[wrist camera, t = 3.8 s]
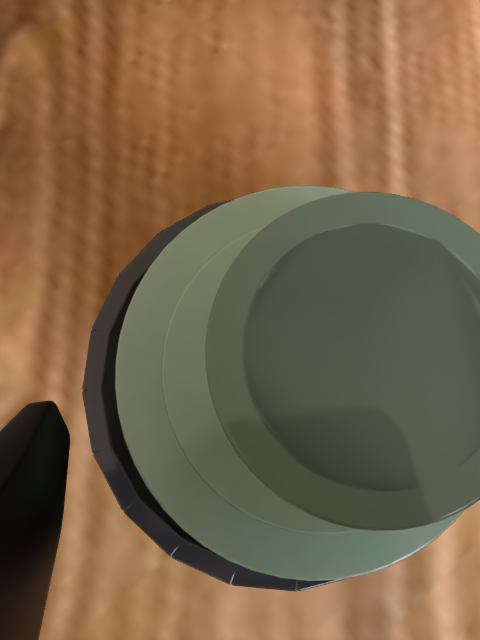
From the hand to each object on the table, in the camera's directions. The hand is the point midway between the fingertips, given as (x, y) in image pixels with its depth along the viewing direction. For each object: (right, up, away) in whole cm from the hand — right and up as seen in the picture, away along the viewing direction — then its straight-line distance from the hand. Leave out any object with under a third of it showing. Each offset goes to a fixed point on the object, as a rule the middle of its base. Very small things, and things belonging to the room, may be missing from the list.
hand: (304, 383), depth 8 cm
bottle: (0, -1, +7) cm, 8 cm away
